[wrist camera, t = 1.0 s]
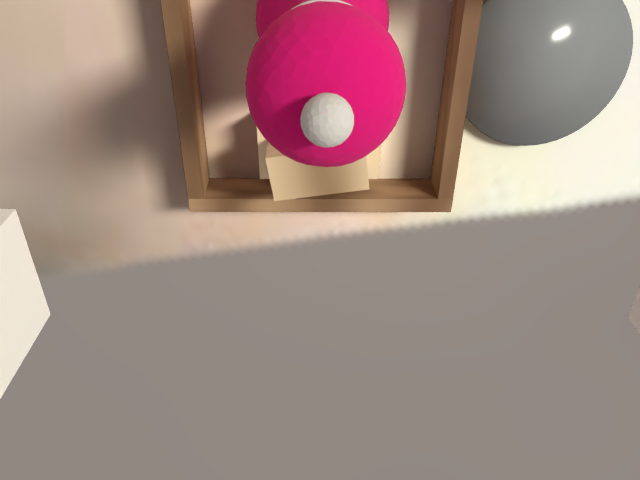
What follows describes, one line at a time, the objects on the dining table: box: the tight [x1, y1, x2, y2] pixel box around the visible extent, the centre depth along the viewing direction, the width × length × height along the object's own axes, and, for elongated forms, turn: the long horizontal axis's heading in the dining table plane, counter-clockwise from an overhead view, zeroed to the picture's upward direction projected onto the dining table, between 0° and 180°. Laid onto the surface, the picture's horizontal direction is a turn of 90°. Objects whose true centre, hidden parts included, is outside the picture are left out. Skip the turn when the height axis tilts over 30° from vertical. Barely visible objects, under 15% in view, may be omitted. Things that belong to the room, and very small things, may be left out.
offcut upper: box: [265, 142, 369, 201], centre depth 36 cm, size 6×3×3 cm, turn 98°
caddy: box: [161, 0, 483, 212], centre depth 35 cm, size 18×19×3 cm
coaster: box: [466, 0, 633, 146], centre depth 36 cm, size 11×11×1 cm
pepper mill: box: [246, 0, 406, 167], centre depth 26 cm, size 7×7×20 cm
